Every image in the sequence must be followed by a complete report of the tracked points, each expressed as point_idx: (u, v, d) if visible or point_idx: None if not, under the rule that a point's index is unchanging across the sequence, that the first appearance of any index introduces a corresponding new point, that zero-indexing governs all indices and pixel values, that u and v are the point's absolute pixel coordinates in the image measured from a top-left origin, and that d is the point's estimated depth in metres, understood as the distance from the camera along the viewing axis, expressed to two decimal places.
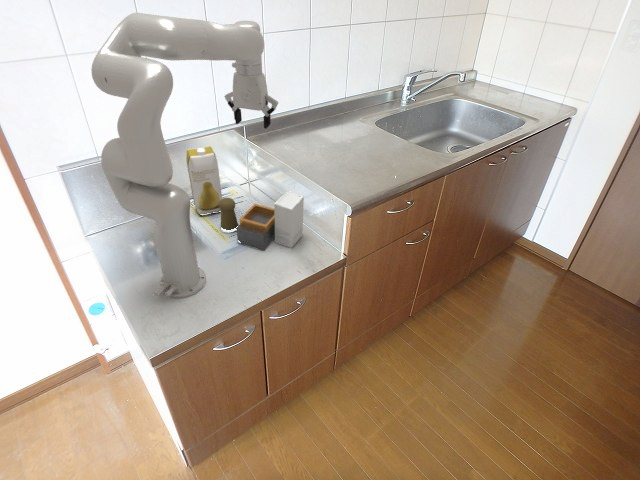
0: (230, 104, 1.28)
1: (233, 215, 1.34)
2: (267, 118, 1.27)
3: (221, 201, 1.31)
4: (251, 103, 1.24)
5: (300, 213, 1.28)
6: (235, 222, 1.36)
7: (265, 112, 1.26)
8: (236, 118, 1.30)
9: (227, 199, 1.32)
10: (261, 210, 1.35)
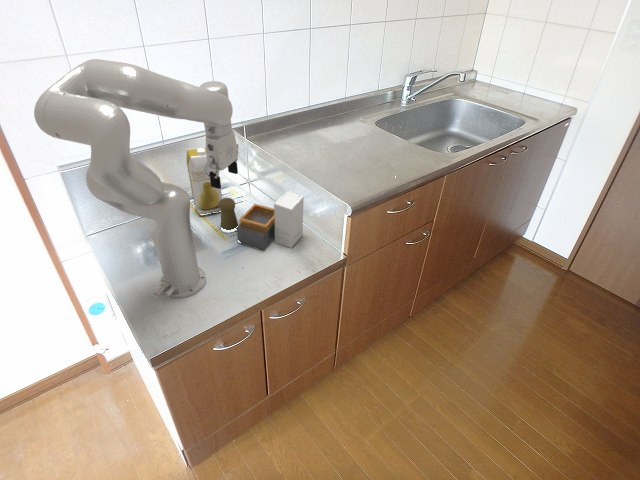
0: (212, 173, 1.19)
1: (233, 215, 1.34)
2: None
3: (221, 201, 1.31)
4: (232, 156, 1.23)
5: (300, 213, 1.29)
6: (235, 222, 1.36)
7: (235, 158, 1.28)
8: (220, 182, 1.23)
9: (227, 199, 1.32)
10: (261, 210, 1.35)
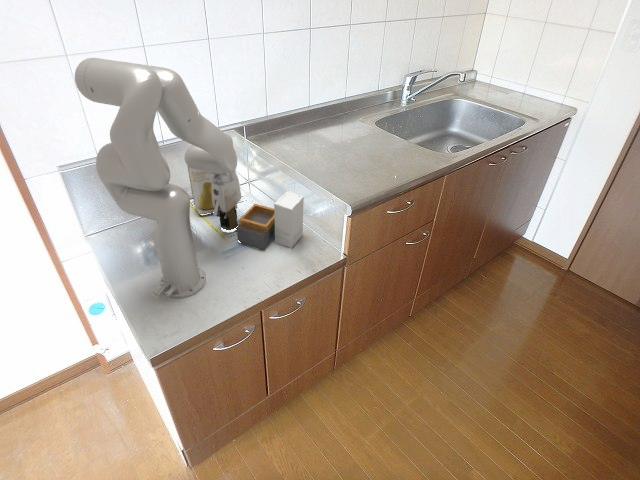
0: (222, 215, 1.30)
1: (233, 215, 1.34)
2: (235, 210, 1.37)
3: None
4: (236, 199, 1.32)
5: (300, 213, 1.29)
6: (235, 222, 1.36)
7: (235, 206, 1.35)
8: None
9: None
10: (261, 210, 1.35)
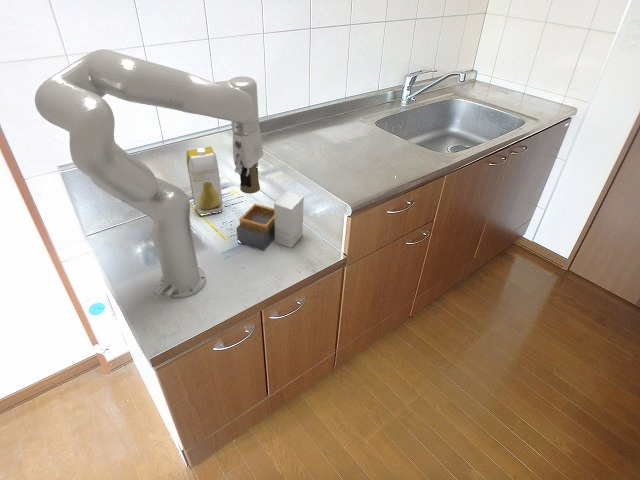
0: (244, 172, 1.18)
1: (255, 173, 1.22)
2: None
3: None
4: (258, 154, 1.20)
5: (300, 213, 1.28)
6: (257, 181, 1.24)
7: None
8: (250, 181, 1.22)
9: None
10: (261, 210, 1.35)
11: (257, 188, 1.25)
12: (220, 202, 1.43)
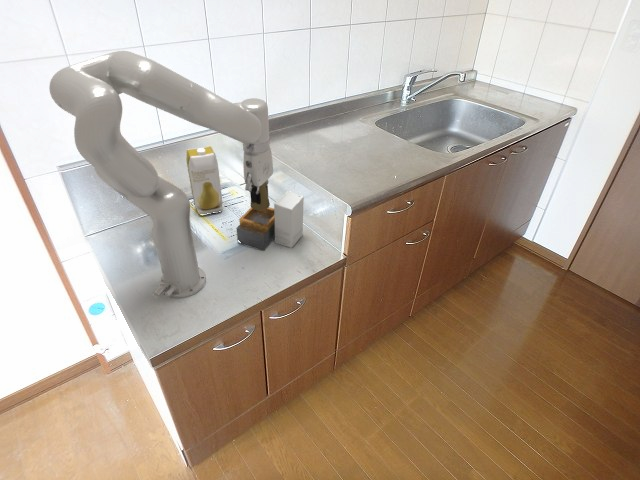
0: (254, 189, 1.21)
1: (265, 190, 1.25)
2: (266, 186, 1.28)
3: None
4: (268, 173, 1.22)
5: (300, 213, 1.28)
6: (266, 198, 1.26)
7: None
8: (260, 198, 1.24)
9: None
10: (261, 210, 1.35)
11: (267, 205, 1.27)
12: (220, 202, 1.43)
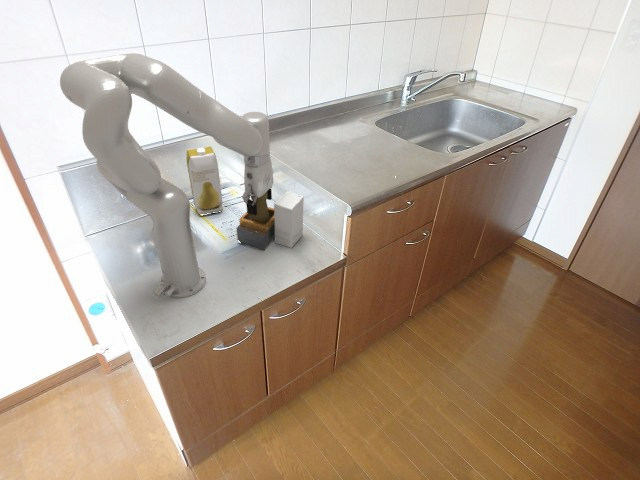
0: (250, 201, 1.20)
1: (265, 206, 1.28)
2: None
3: None
4: (268, 184, 1.24)
5: (300, 213, 1.29)
6: (267, 214, 1.30)
7: None
8: (256, 209, 1.24)
9: None
10: None
11: (267, 220, 1.31)
12: (220, 202, 1.43)
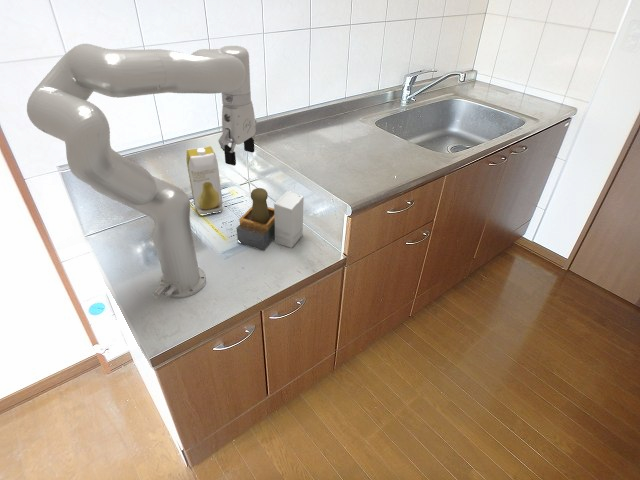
0: (228, 147, 1.10)
1: (265, 206, 1.28)
2: None
3: (253, 191, 1.25)
4: (249, 131, 1.14)
5: (300, 213, 1.28)
6: (267, 214, 1.30)
7: (252, 135, 1.19)
8: (235, 158, 1.14)
9: (259, 189, 1.26)
10: None
11: (267, 220, 1.31)
12: (220, 202, 1.43)
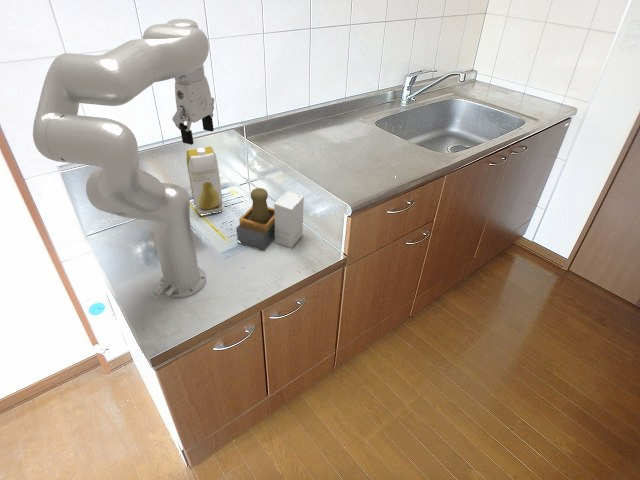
0: (183, 125, 1.07)
1: (265, 206, 1.28)
2: None
3: (253, 191, 1.25)
4: (206, 109, 1.11)
5: (300, 213, 1.28)
6: (267, 214, 1.30)
7: (210, 113, 1.16)
8: (192, 137, 1.11)
9: (259, 189, 1.26)
10: None
11: (267, 220, 1.31)
12: (220, 202, 1.43)
